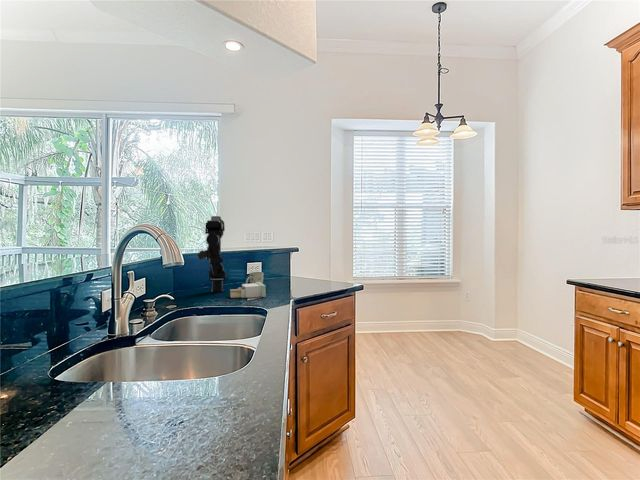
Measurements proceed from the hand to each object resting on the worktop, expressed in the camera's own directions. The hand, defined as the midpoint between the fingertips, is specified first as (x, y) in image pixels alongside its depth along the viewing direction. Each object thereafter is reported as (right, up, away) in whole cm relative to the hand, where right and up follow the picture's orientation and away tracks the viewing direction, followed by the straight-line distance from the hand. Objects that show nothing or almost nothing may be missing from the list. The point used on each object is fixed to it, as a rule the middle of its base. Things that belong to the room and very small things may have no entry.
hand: (214, 275), depth 191 cm
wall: (+22, -12, +10) cm, 27 cm away
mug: (+16, -11, +24) cm, 31 cm away
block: (+17, -12, +8) cm, 22 cm away
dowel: (+13, -12, +5) cm, 19 cm away
